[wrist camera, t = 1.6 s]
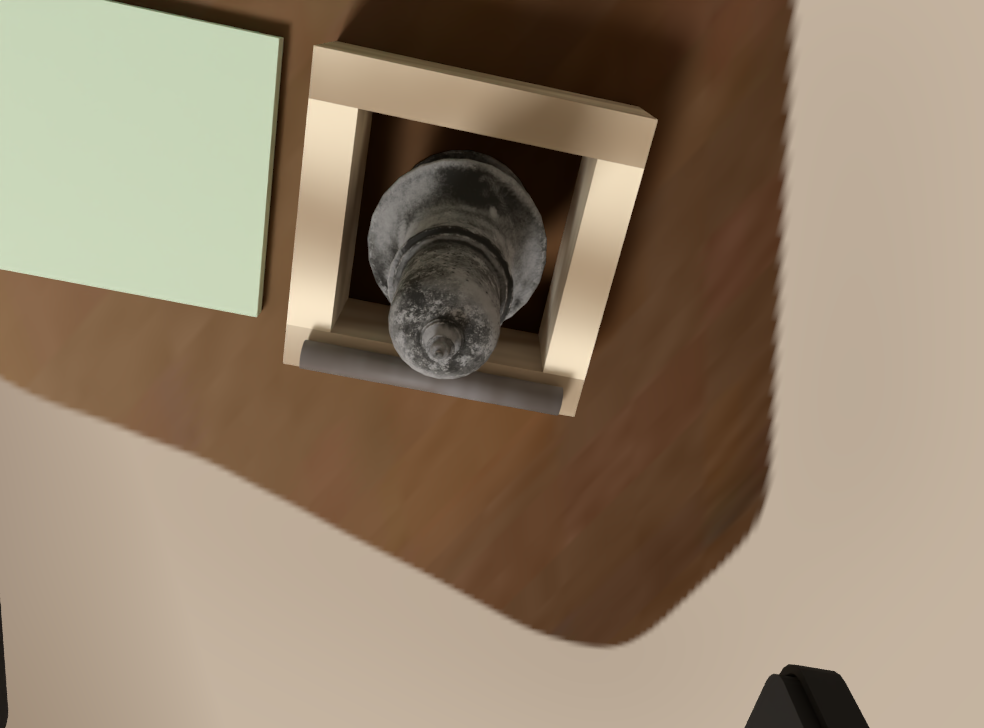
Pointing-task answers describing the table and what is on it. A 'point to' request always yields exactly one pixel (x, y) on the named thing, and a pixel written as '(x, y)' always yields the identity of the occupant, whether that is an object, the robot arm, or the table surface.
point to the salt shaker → (455, 259)
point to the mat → (137, 150)
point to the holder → (482, 110)
